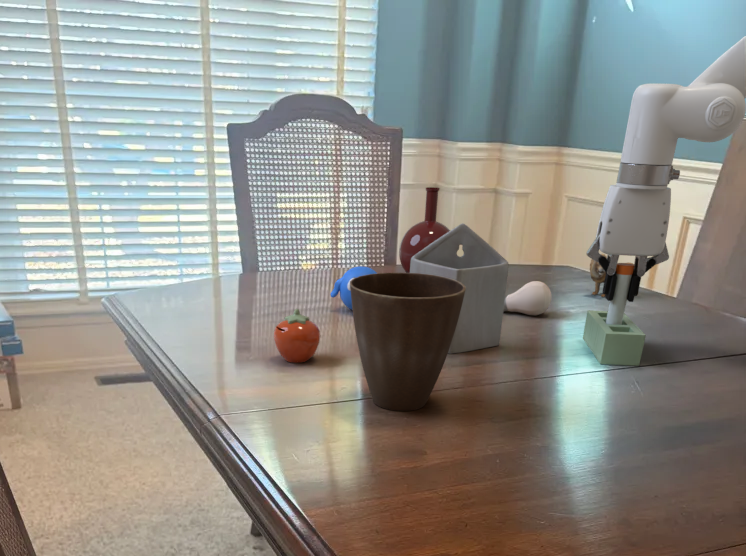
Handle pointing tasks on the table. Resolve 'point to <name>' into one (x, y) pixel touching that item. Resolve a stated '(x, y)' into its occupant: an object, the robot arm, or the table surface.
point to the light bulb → (529, 299)
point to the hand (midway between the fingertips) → (618, 298)
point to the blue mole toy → (344, 283)
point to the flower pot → (404, 333)
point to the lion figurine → (598, 275)
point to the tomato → (296, 338)
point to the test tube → (620, 294)
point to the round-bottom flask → (422, 231)
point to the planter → (469, 284)
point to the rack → (613, 339)
